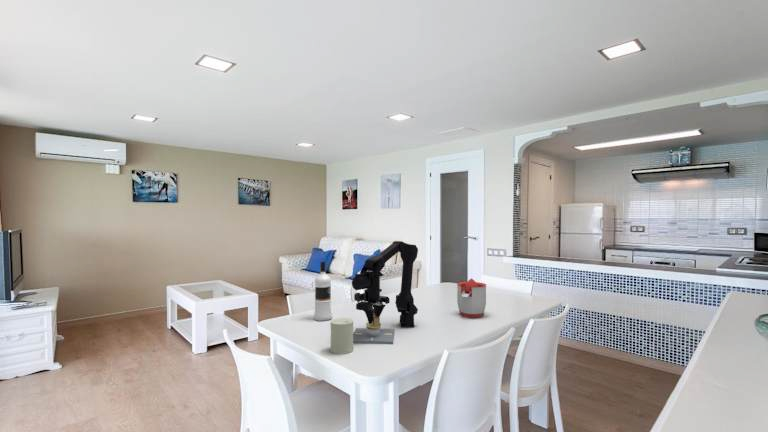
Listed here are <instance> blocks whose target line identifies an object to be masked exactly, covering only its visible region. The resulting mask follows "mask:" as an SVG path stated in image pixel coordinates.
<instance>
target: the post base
mask: <svg viewBox="0 0 768 432" xmlns="http://www.w3.org/2000/svg"><path fill="white" fill-rule="evenodd" d="M395 331H396V330H395V328H381V327H380V328H379V329H368V328H365V327H363V328H361V327H356V328H355V329H354V331H353V344H365V345H367V344H368V345H369V344H375V345H377V344H378V345H394V339H395Z"/></svg>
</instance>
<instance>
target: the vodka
mask: <svg viewBox="0 0 768 432" xmlns="http://www.w3.org/2000/svg"><path fill="white" fill-rule="evenodd" d="M319 269H320V274H319V275H317V276H316V277H315V279H314V287H315V288H314V314H313V319H314V320H315V321H317V322H327V321H331V320H332V317H333V313H332V307H331V306H332V305H331V303H332V299H331V298H332V297H331V296H332V295H331V293H332V292H331V290H332V288H331V281H332V279H331V277H330V276H329V275H327V274H326V261H324V260H321V261H320V267H319Z"/></svg>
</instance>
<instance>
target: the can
mask: <svg viewBox="0 0 768 432" xmlns="http://www.w3.org/2000/svg"><path fill="white" fill-rule="evenodd" d="M353 334H354V319H352V318H349V317H338V318H337V317H336V318H335V319H330V350H329V351H330V352H331V353H333V354H335V355H345V354H350V353H352V352H354V343H353Z"/></svg>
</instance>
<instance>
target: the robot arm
mask: <svg viewBox="0 0 768 432" xmlns="http://www.w3.org/2000/svg"><path fill="white" fill-rule="evenodd" d="M418 252H419V248H418V247H417V245H416V244H410V243H406V242H404V241H402V240H401V241H399V240H395V241H392V243H391V244H390V245H388V246H387V247H386V248H385V249H384V250H382V251H381V252H380V253H378V254H376V255H372V256H370V257H368V258H367V259H366V260H365V261H364V264H363V266H362V268H361V270H360V272H359V273H355V275H354V277H353V279H352V281H351V286H352V289H354V290H355V291H361V290H364V292H363V293H360V292H356V293H354V295H353V296H354V297H353V298H354V301H357V303H356V305H355V310H357V311H363V312H364V314H365V316H366V318H367V323H368V322H369V324H372V321H373V316H374V314H375V315H377V316H378V317H379V318H380V317H381V314H382V312H383V310H384V309H385V307H386V305H387V304H390V297H389V296H385V295H381V292H382V290H383V288H381V281H380V280H381V277H383V276H384V274H383V273H382V272H381V271H382V270H383V268H385V265H386V263H387V262H388V261H390V260H391V259H392V258H393V257H394V256H395V255H396V254H398V253H400V259H401V261H402V272H401V281H400V282H401V284H400V292H399V294H396V296H395V303H394V304H395V307H396V309H397V312H398V313H400V315H399V325H400V328H415V315H416V314H418V311H419V309H418V308H417V306H416V305H415V304H414V303H415V301H414V296H413V294H412V284H413V283H412V282H413V270H414V269H413V268H414V262H415V261H416V260H417V257H418V254H419V253H418ZM384 303H385V304H384Z"/></svg>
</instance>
